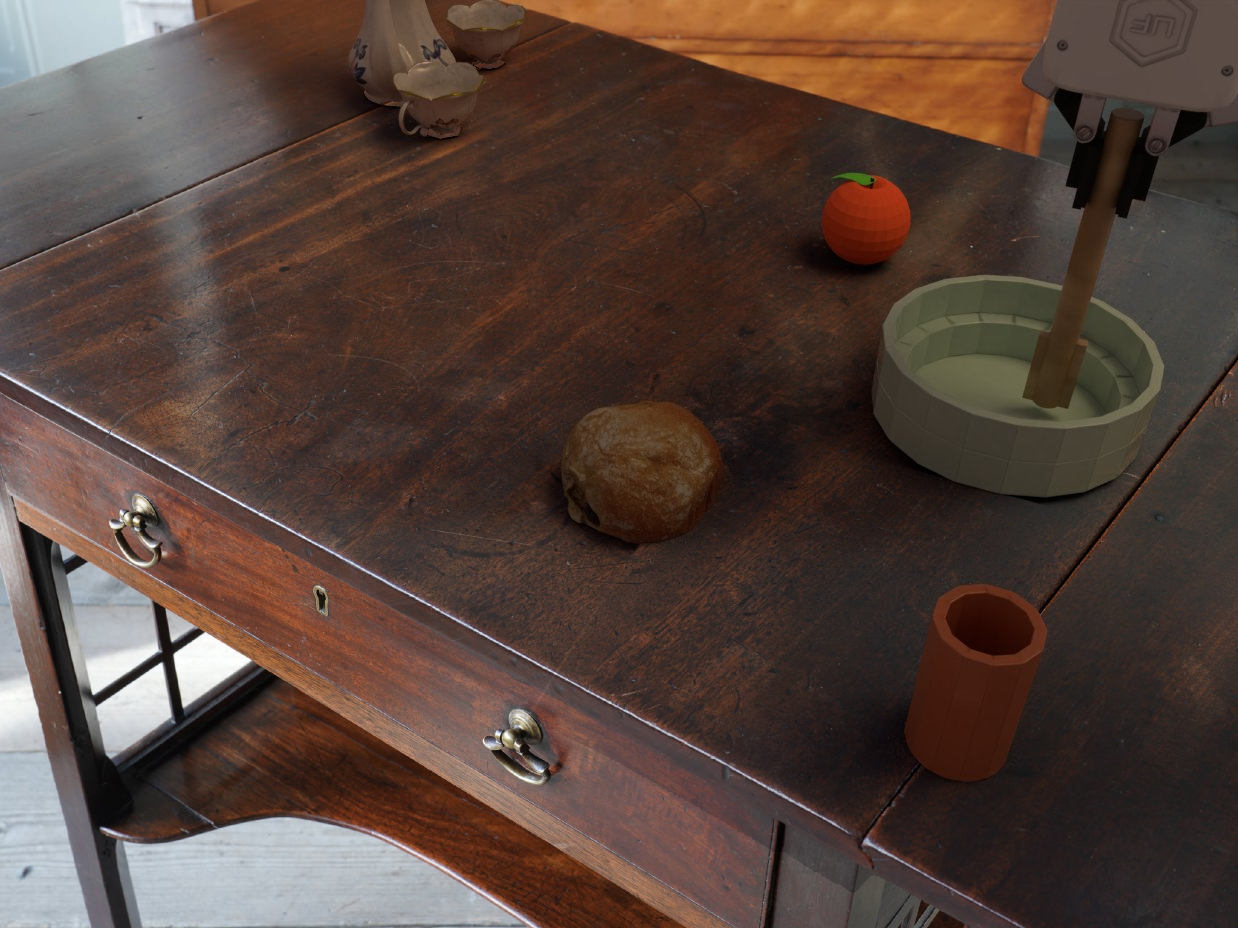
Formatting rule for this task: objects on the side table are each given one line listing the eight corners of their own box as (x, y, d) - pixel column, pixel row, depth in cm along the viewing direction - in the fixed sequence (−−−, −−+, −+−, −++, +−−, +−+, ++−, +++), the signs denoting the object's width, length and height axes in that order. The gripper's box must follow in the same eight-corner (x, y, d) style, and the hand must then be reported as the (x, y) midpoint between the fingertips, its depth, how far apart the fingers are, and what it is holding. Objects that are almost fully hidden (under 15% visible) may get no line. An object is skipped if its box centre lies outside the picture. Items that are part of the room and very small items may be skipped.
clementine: (789, 255, 99) (798, 175, 94) (837, 225, 103) (848, 146, 98) (873, 290, 95) (886, 208, 90) (919, 257, 99) (934, 176, 94)
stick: (1070, 399, 81) (1157, 112, 68) (1066, 413, 80) (1154, 124, 67) (1025, 388, 82) (1102, 103, 69) (1020, 402, 81) (1098, 115, 68)
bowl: (1149, 382, 86) (1175, 309, 82) (1119, 535, 73) (1148, 457, 70) (905, 325, 91) (919, 254, 87) (840, 458, 79) (851, 383, 75)
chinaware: (488, 172, 114) (497, -8, 103) (311, 147, 113) (301, -35, 103) (528, 59, 135) (538, -100, 125) (379, 38, 135) (376, -122, 124)
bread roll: (551, 523, 79) (506, 461, 73) (646, 405, 82) (612, 336, 75) (667, 597, 74) (631, 538, 67) (765, 469, 76) (739, 401, 70)
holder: (1013, 726, 62) (1054, 603, 56) (994, 802, 59) (1036, 679, 53) (916, 694, 64) (947, 571, 58) (892, 767, 60) (922, 643, 54)
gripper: (1022, -135, 60) (954, 204, 72) (1378, -96, 55) (1242, 261, 67) (1047, -168, 65) (980, 153, 77) (1373, -135, 60) (1248, 203, 72)
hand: (1102, 201), depth 72 cm, fingers closed on stick, 1 cm apart
